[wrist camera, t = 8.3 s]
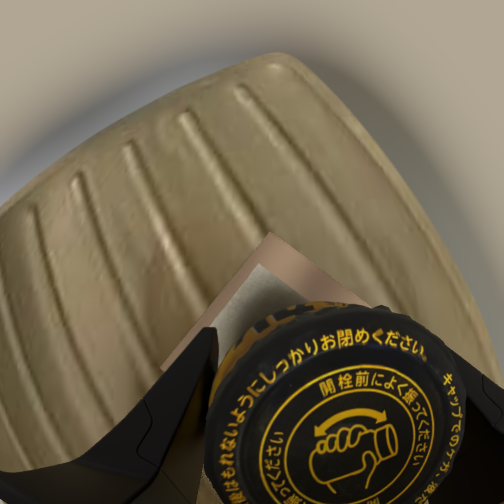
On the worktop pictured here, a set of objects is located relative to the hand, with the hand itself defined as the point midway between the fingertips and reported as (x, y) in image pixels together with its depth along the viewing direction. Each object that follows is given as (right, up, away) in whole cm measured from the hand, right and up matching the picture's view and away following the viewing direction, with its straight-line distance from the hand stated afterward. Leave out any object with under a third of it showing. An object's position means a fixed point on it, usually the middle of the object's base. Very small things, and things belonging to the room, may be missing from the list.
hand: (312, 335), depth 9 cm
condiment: (0, -3, +7) cm, 8 cm away
